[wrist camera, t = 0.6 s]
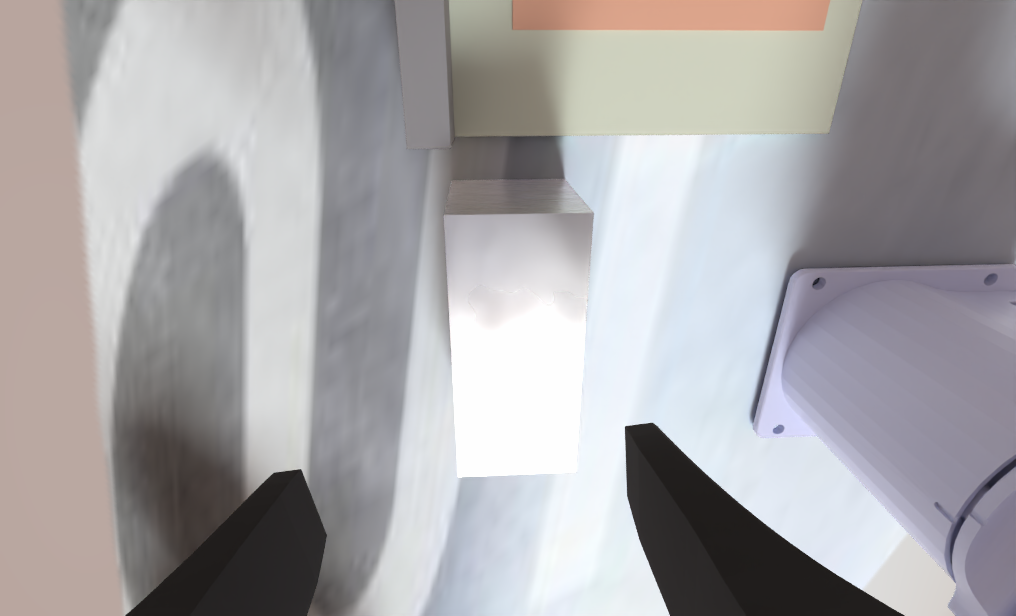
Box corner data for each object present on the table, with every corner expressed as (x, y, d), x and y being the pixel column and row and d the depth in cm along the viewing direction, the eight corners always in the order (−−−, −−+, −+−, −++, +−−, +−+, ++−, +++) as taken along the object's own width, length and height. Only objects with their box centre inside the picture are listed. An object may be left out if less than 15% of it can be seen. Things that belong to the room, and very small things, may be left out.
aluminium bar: (451, 179, 18) (443, 215, 13) (564, 177, 18) (593, 212, 13) (462, 392, 22) (458, 476, 17) (554, 389, 22) (575, 471, 17)
